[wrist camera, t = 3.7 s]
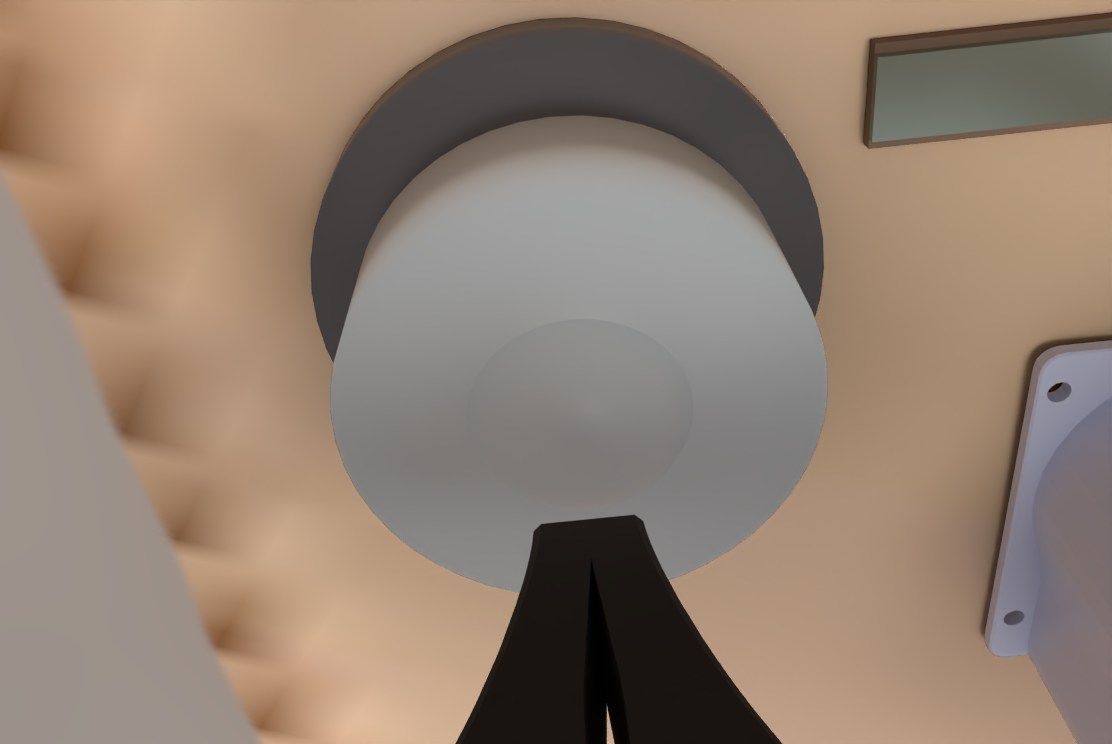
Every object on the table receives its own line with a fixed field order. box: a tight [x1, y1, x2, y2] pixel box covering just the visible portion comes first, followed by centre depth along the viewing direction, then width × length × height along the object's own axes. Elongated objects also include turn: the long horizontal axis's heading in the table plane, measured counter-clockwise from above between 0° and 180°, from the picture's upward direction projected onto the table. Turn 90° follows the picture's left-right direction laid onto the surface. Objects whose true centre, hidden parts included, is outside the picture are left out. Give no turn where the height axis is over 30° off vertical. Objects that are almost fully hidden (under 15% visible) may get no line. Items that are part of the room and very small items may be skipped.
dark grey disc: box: [311, 18, 824, 363], centre depth 21 cm, size 10×10×1 cm
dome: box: [330, 115, 828, 592], centre depth 17 cm, size 8×8×4 cm
